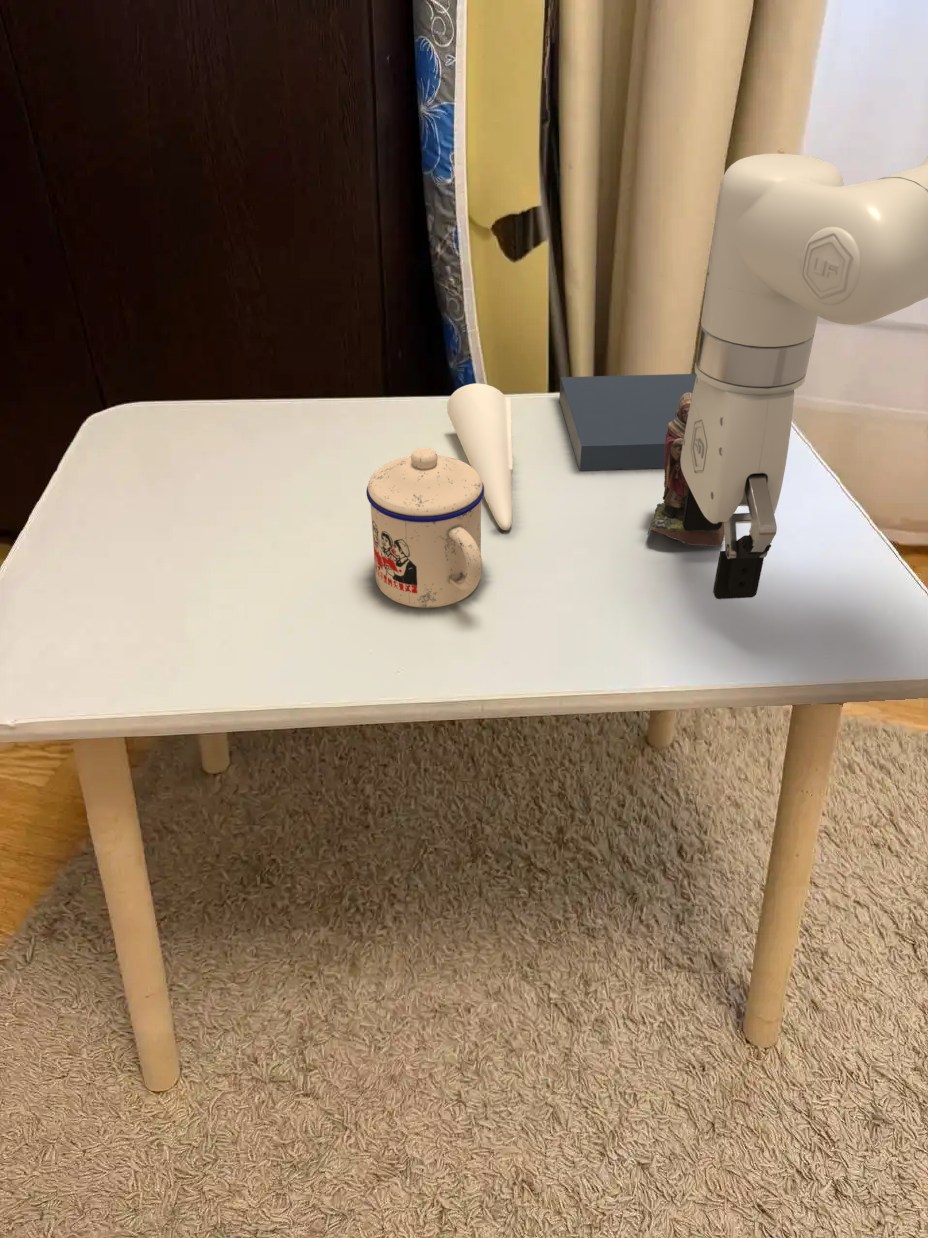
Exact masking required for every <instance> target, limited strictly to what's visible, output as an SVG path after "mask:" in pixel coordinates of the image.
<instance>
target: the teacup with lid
mask: <svg viewBox="0 0 928 1238" xmlns="http://www.w3.org/2000/svg"><path fill="white" fill-rule="evenodd" d="M366 498H367V501H368V502H369V504H370V516H371V530H372V531H371V532H372V543H373V544H372V545H373V557H374V559H373V560H374V571H375V572H374V573H375V581H376V584H377V586H378V588H379V590H380V591H381V592H382V594H384V595H385V596H386V597H387V598H389V599H390V600H392V601H394V602H396V603H398V604H401V605H404V606H408V607H413V608H423V609H424V608H425V609H426V608H429V609H430V608H431V609H432V608H441V607H446V606H448V605H449V606H450V605H452V604H456V603H457V602H460V601H462V600H463V599H465V598H467V597H468V596H469V595H471V594H472V593H473V592H474V591H475V590H476V589H477V587H478V586H479V583H480V580H481V577H482V573H483V559H482V500H483V498H484V485H483V482H482V480H481V477H480V476H479V474H478V473H477V472H476V470H475V469H473V468H472V467H471V465H470V464H468V463H466V462H464V461H462V460H459V459H457V458H454V457H451V456H445V455H438V453H437V452H436V451H435V449H433V448H430V447H418V448H416V449H414V450H413V451H412V453H411V455H409V456H404V457H400V458H396V459H394V460H391V461H389V462H386V463H385V464H383V465H382V466H380V467H378V469H377V470H375V472H374V473H373V474H372V475H371V477H370V478H369V480H368V484H367V486H366Z"/></svg>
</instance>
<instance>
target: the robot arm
mask: <svg viewBox="0 0 928 1238" xmlns="http://www.w3.org/2000/svg"><path fill="white" fill-rule="evenodd" d="M715 209H716V210H715V217H714V224H713V230H712V231H713V232H712V239H711V245H710V246H711V247H710V254H709V259H708V260H709V261H708V267H707V275H706V277H707V278H706V283H705V291H704V298H703V303H702V314H701V320H700V326H699V327H700V328H699V334H698V335H699V336H698V342H697V349H696V356H695V364H694V374H697V377H696V380H695V385H694V389H693V393H692V398H691V403H690V408H689V413H688V419H687V424H686V429H685V435H684V440H683V446H682V452H681V459H680V463H681V469H682V472H683V475H684V477H685V479H686V481H687V483H688V488H687V495H686V502H685V509H684V516H683V523H682V525H683V527H684V529H685V530H686V531H694V530H717V529H720V528H721V526H722V522H724V538H723V539H724V550H719V553H718V554H719V555H718V559H717V565H716V571H715V575H714V576H715V577H714V582H713V589H712V593H713V595H714V598H715V599H717V600H728V599H729V600H730V599H751V598H755V596H756V595H757V594H758V590H759V584H760V579H761V574H762V569H763V564H764V560H765V558H767V556H768V552H770V548H771V547H772V541H773V540H774V538H775V536H776V535H777V532H778V531H777V530H778V525H777V521H776V517H775V513H776V510H777V508H778V505H779V500H780V496H781V491H782V487H783V482H784V476H785V471H786V466H787V459H788V452H789V445H790V439H791V430H792V421H793V411H794V402H795V401H794V400H795V390H796V389H799V388H800V387H801V386H802V385H803V384H805V381H806V377H807V371H808V366H809V361H810V358H811V353H812V347H813V344H814V338H815V333H816V330H817V324H818V319H819V318H821V319H824V320H825V321H829V322H832V323H835V324H840V325H861V324H866V323H871V322H874V321H877V320H879V319H883V318H884V317H886V316H887V317H888V316H889V315H892V314H894V313H896V312H899V311H901V310H903V309H906V308H908V307H911V306H913V305H914V304H916V303H918V302H920V301H923V300H925V299H928V156H926V158H924V160H923V161H922V162H921V163H920V164H919V165H918V167H914V168H910V169H907V170H903V171H900V172H898V173H894V174H889V175H887V176H883V177H881V178H880V177H879V178H877V179H874V180H868V181H863V182H862V181H861V182H858V183H853V184H847V185H844V178H843V176H842V173H841V171H840V170H839V169H838V168H837V167H836V166H835V165H834V164H832V163H830V162H828V161H826V160H823V159H821V158H817V157H814V156H809V155H803V154H796V153H795V154H794V153H760V154H754V155H749V156H747V157H742V158H740V159H738V160H736V161H735V162H734V163H732V164H731V165H729V167H728V168H727V169H726V171H725V172H724V174H723V176H722V177H721V181H720V184H719V190H718V196H717V203H716V208H715ZM739 507H747V508H748V512H739V513H738V512H737V513H735V512H736V511H737V509H738V508H739ZM739 524H750V528H749V531H748V533H749V534H745V535H743V536H741V537H740V538H739V539H737V525H739Z"/></svg>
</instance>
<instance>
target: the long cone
mask: <svg viewBox="0 0 928 1238" xmlns="http://www.w3.org/2000/svg"><path fill="white" fill-rule="evenodd" d="M446 412H447V415H448V417H449V421H450V422H451V424H452V427H453V429H454V432H455V433H456V436H457V437H458V438H457V439H458V440H459V442H460V444H461V446H462V449H463V452H464V454H465V455H466V459H467V460H468V462H469V465H470V466H471V467H472V468H473V469H475V470H476V472H477V473H478V474H479V476H480V477H481V480H482V482H483V485H484V495H483V498H485V501H486V503H487V505H488V507H489V510H490V512H491V514H492V516H493V518H494V520H495V522H496V524H497V526H498V527H499V528H500V529H501V530H503V531H508V530H510V529H511V527H512V524H513V487H512V480H513V479H512V478H513V471H514V461H513V459H514V458H513V455H514V454H513V423H512V422H513V417H512V416H513V415H512V396H507V395H505V394H504V393H503V392H502V391H501V390H500V389H498V388H496V387H495V386H492V385H489V384H486V383H469V384H466V385H463V386H461V387H459V388H457V389H456V390H454V392H453V393H452V394H451V395H450V397H449V398H448V401H447V404H446Z"/></svg>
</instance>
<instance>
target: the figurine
mask: <svg viewBox="0 0 928 1238" xmlns="http://www.w3.org/2000/svg"><path fill="white" fill-rule="evenodd" d="M691 398H692V394H691V393H685V394H684V395H683V396H682V397H681V398H680V401H679V404H678V405H679V410H676V412H675V419H674V420H673V421H671V422H669V423H668V431H667V433H666V440H665V456H664V468H663V469H664V480H663V486H664V491H663V496H662V501H663V502H662V503H657V504H656V508H655V509H654V514H653V518H652V519H651V522H650V526H649V528H648V531H647V536H649V534H650V530H652V531H654V532H657V533H659V534H661V535H665V536H666V537H667V538H670V539H673V540H675V541H679V542H681V543H682V544H686V545H694V546H696V545H697V546H710V547H722V546H723V543H724V541H725V538H724V522H722V526H721V528H720V529H717V530H694V531H686V530H685V529H684V527H683V525H682V523H683V516H684V509H685V502H686V495H687V488H688V483H687V481H686V479H685V477H684V475H683V472H682V469H681V463H680V459H681V452H682V446H683V440H684V435H685V429H686V424H687V419H688V413H689V408H690V403H691Z"/></svg>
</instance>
